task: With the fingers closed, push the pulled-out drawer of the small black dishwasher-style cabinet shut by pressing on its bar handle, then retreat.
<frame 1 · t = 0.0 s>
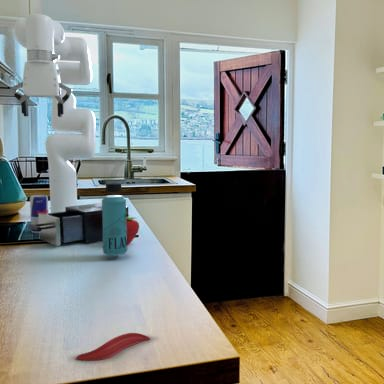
hand: (43, 116, 145), 37 cm above the counter, tool pointing down, fingers open, 9 cm apart
beverage bottle: (115, 258, 128), on the counter
strawberry: (126, 245, 142), on the counter
cayenne pepper: (115, 350, 75), on the counter
cabinet: (97, 236, 151), on the counter
energy drink: (40, 232, 157), on the counter
drawer: (62, 227, 142), point 5 cm above the counter, slide at 7.5 cm
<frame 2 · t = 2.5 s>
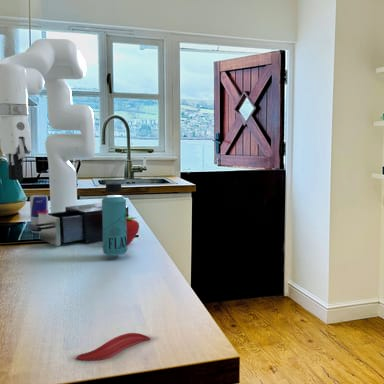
hand: (16, 179, 131), 20 cm above the counter, tool pointing down, fingers closed
nothing on the counter moved.
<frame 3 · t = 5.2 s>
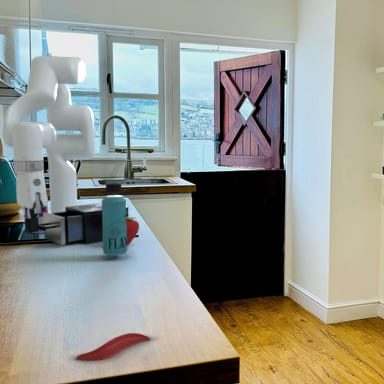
hand: (31, 231, 136), 5 cm above the counter, tool pointing down, fingers closed
drawer: (67, 226, 143), point 5 cm above the counter, slide at 6.1 cm, touching gripper
everything else where it was.
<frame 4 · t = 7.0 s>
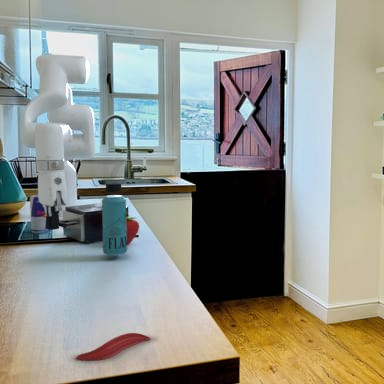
hand: (52, 228, 140), 5 cm above the counter, tool pointing down, fingers closed
drawer: (85, 223, 148), point 5 cm above the counter, slide at 0.0 cm, touching cabinet, gripper
everything else where it was.
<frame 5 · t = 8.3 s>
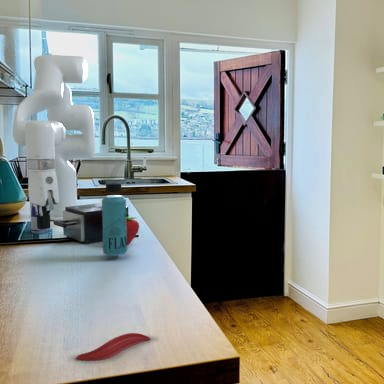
hand: (43, 228, 138), 5 cm above the counter, tool pointing down, fingers closed
drawer: (85, 223, 148), point 5 cm above the counter, slide at 0.0 cm, touching cabinet
everything else where it was.
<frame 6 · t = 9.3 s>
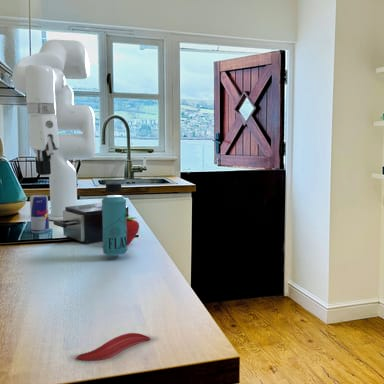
hand: (44, 174, 139), 21 cm above the counter, tool pointing down, fingers closed
nothing on the counter moved.
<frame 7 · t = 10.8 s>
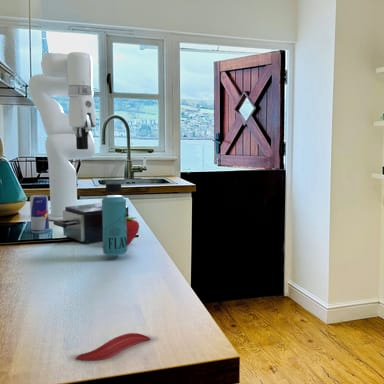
hand: (82, 149, 157), 27 cm above the counter, tool pointing down, fingers closed
nothing on the counter moved.
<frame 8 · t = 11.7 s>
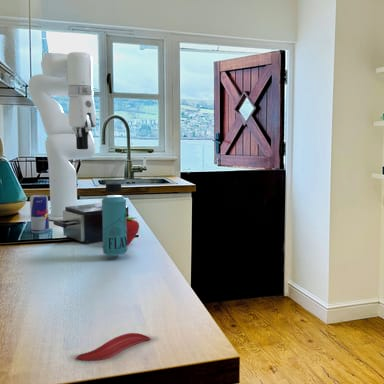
hand: (82, 149, 157), 27 cm above the counter, tool pointing down, fingers closed
nothing on the counter moved.
at the end: drawer slide at 0.0 cm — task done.
